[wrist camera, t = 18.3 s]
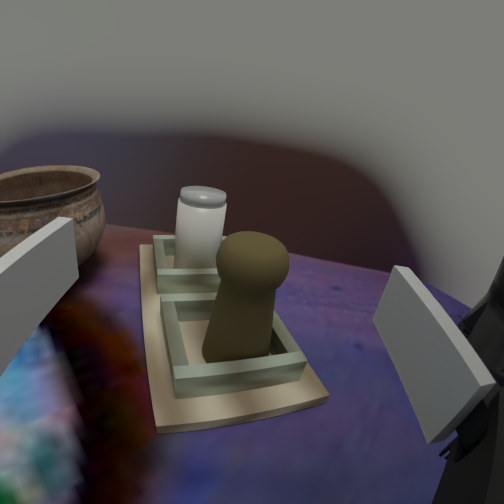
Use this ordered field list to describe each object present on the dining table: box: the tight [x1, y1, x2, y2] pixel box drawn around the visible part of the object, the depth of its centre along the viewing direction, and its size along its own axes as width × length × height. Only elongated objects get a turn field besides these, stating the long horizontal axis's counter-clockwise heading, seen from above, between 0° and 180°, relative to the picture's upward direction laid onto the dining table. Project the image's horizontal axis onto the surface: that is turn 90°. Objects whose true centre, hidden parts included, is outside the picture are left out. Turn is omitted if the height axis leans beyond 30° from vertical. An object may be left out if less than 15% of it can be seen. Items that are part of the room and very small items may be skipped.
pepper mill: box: [202, 231, 289, 364], centre depth 23 cm, size 6×6×11 cm
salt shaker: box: [173, 186, 227, 269], centre depth 35 cm, size 6×6×10 cm
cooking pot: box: [0, 165, 105, 266], centre depth 29 cm, size 25×19×12 cm
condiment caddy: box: [140, 235, 329, 434], centre depth 31 cm, size 14×29×4 cm, turn 20°
